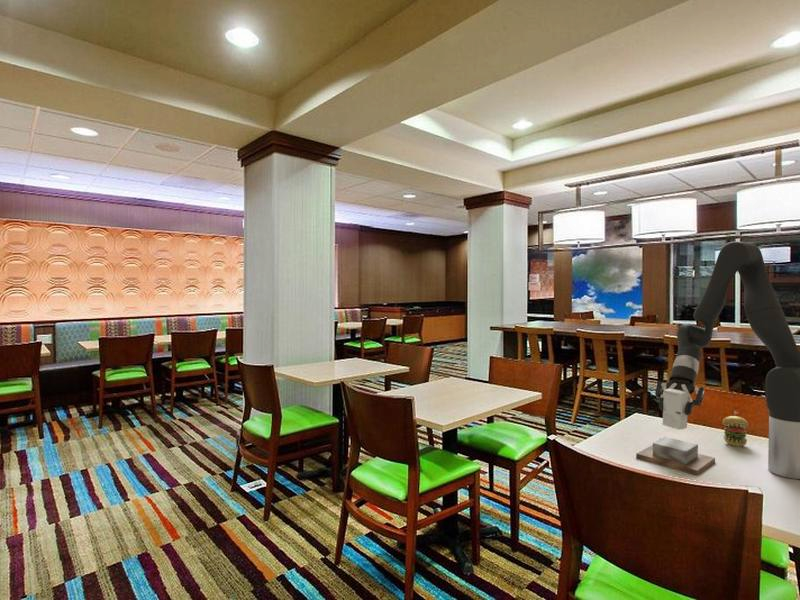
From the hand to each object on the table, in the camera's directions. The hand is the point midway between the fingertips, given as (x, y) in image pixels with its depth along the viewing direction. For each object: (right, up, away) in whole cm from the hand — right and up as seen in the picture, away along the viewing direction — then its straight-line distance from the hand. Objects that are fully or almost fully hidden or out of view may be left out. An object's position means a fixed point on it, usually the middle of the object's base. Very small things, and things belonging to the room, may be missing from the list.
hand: (674, 411), depth 146 cm
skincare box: (+1, -6, +1) cm, 6 cm away
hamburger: (+32, -16, +16) cm, 39 cm away
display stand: (+1, -17, +1) cm, 17 cm away
